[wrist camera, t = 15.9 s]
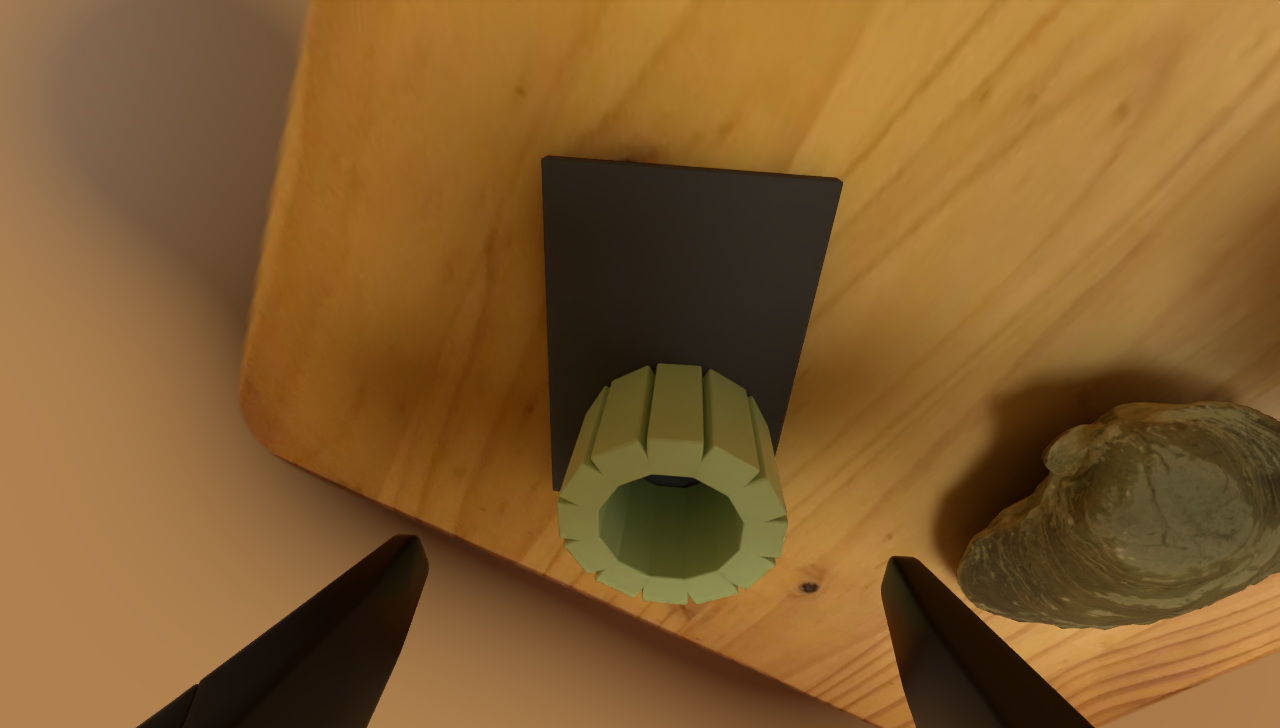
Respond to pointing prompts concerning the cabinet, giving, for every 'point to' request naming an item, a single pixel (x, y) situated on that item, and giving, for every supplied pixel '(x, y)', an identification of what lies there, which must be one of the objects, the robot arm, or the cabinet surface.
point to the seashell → (1136, 519)
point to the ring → (673, 488)
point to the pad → (677, 280)
